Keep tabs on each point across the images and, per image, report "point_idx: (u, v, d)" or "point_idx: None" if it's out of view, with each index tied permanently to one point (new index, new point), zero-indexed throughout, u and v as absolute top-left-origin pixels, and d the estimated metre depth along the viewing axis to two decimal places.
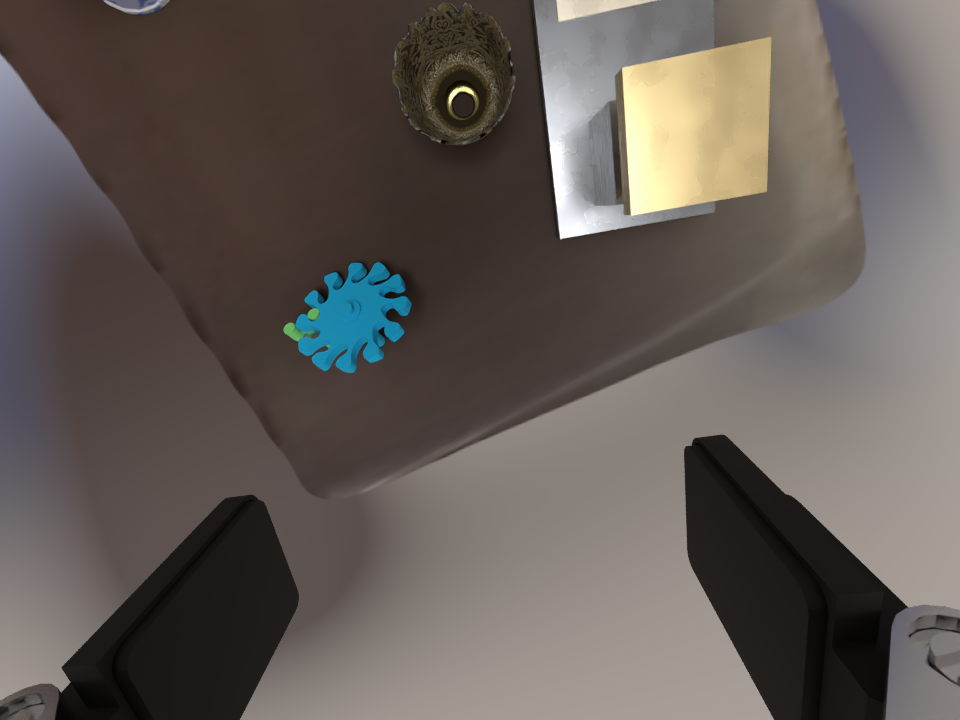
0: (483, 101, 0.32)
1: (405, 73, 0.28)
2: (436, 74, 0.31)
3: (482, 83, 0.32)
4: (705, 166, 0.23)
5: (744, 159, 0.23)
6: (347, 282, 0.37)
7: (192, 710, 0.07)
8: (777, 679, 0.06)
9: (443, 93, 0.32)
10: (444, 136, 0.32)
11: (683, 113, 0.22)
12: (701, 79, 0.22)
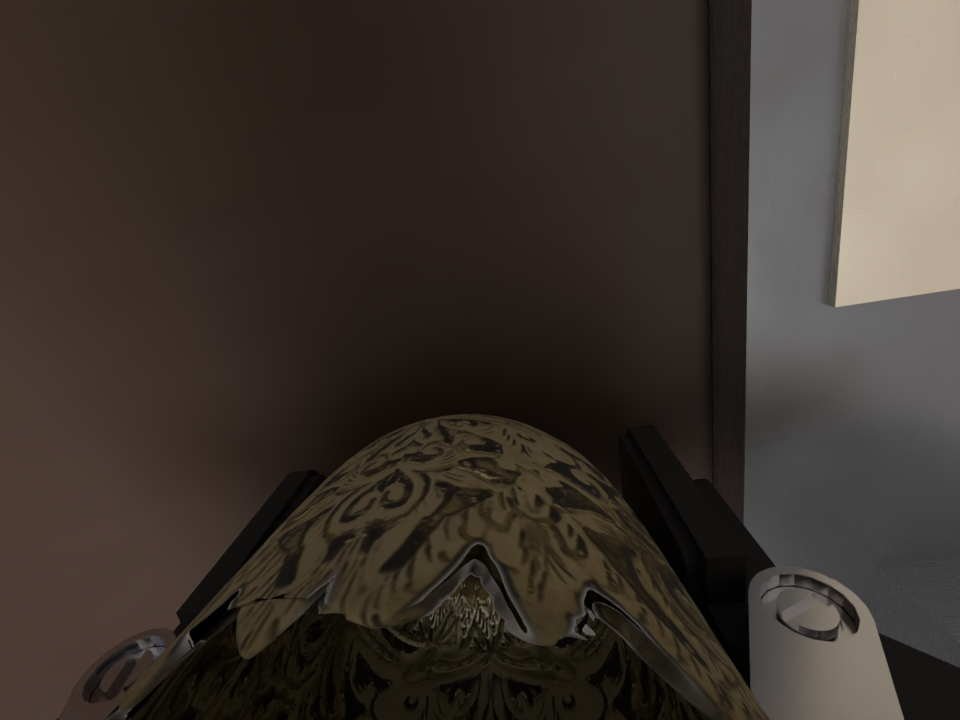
0: None
1: (223, 655, 0.06)
2: None
3: None
4: None
5: None
6: None
7: None
8: None
9: None
10: (419, 646, 0.10)
11: None
12: None
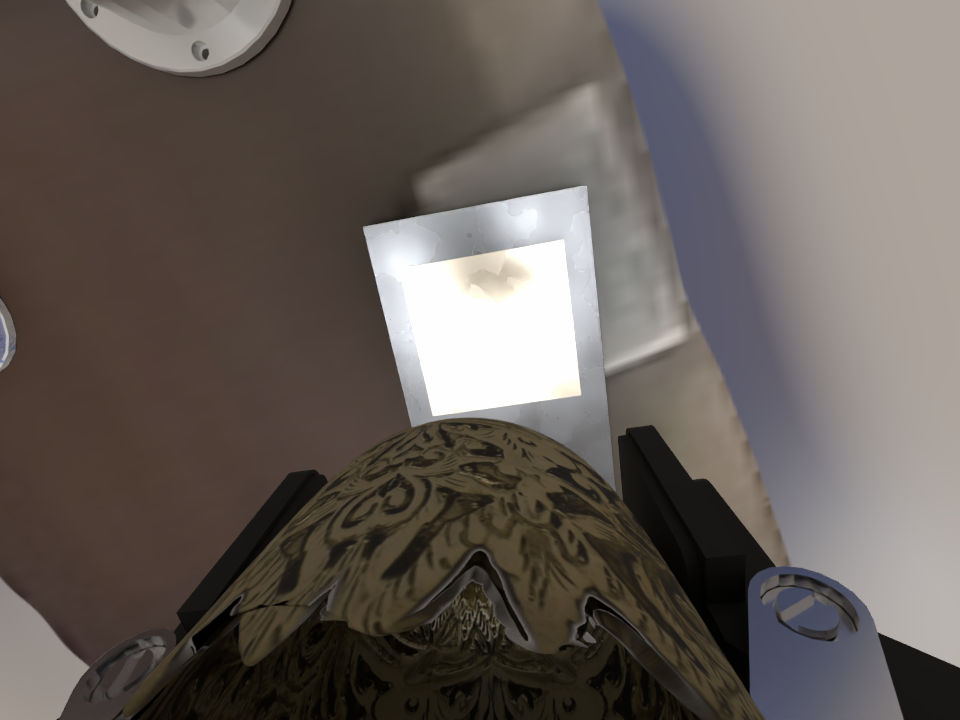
0: None
1: (225, 659, 0.06)
2: None
3: None
4: None
5: None
6: None
7: None
8: None
9: None
10: (420, 648, 0.10)
11: None
12: None
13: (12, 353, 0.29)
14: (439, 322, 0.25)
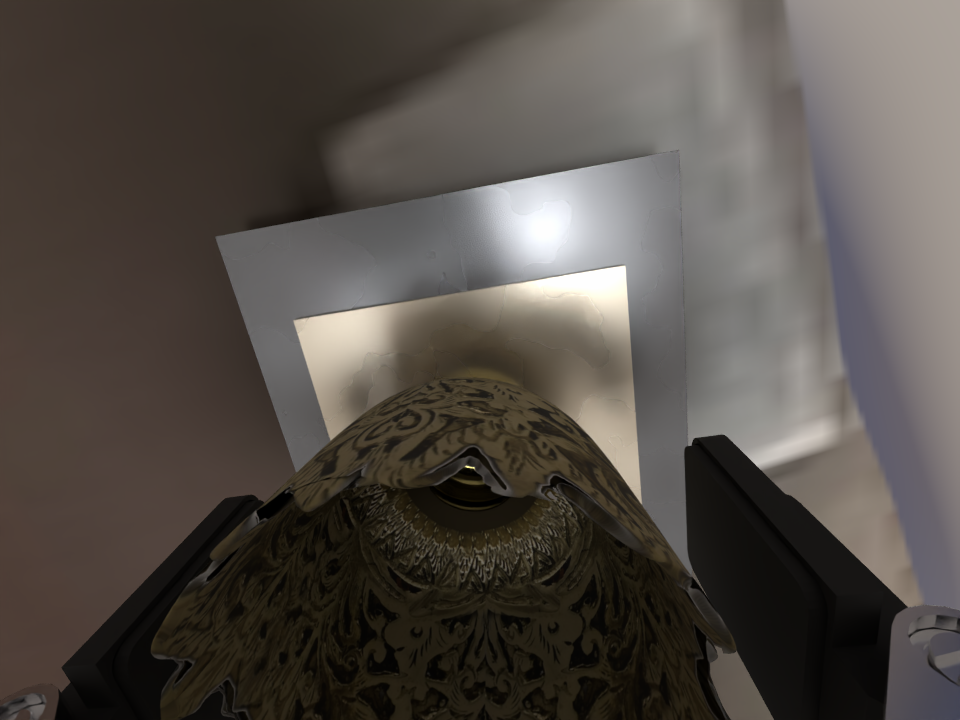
0: None
1: (264, 567, 0.07)
2: None
3: None
4: None
5: None
6: None
7: None
8: (777, 679, 0.06)
9: None
10: (423, 588, 0.11)
11: None
12: None
13: None
14: None
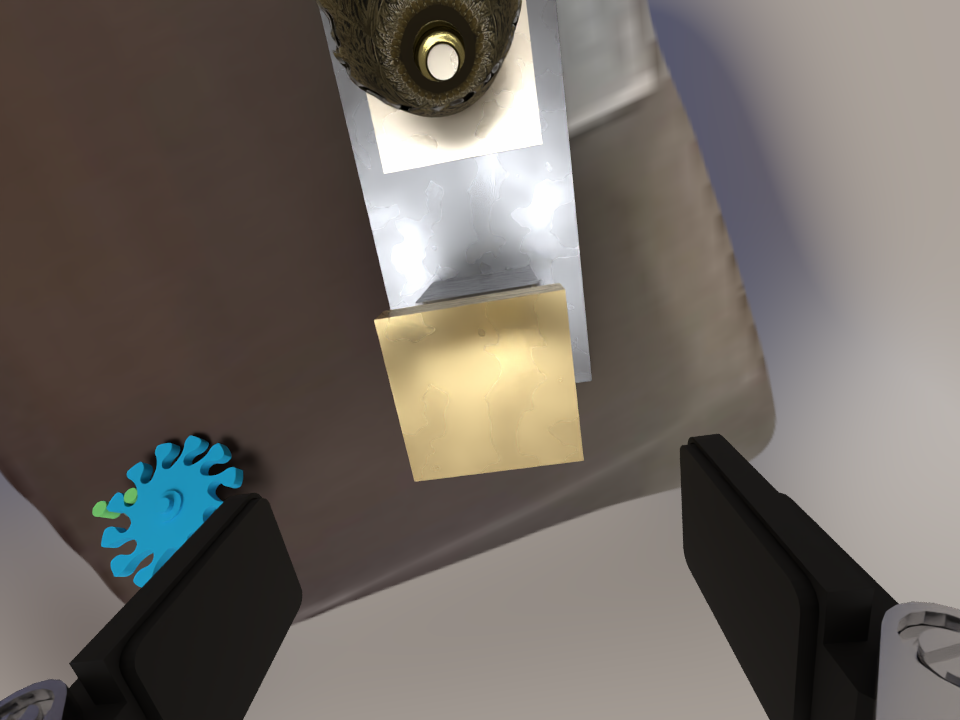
0: (471, 53, 0.21)
1: None
2: (399, 9, 0.21)
3: (469, 24, 0.21)
4: (500, 431, 0.18)
5: (550, 425, 0.17)
6: (178, 461, 0.32)
7: (198, 706, 0.07)
8: (770, 676, 0.06)
9: (410, 40, 0.22)
10: (412, 105, 0.21)
11: (462, 373, 0.17)
12: (480, 336, 0.16)
13: None
14: None
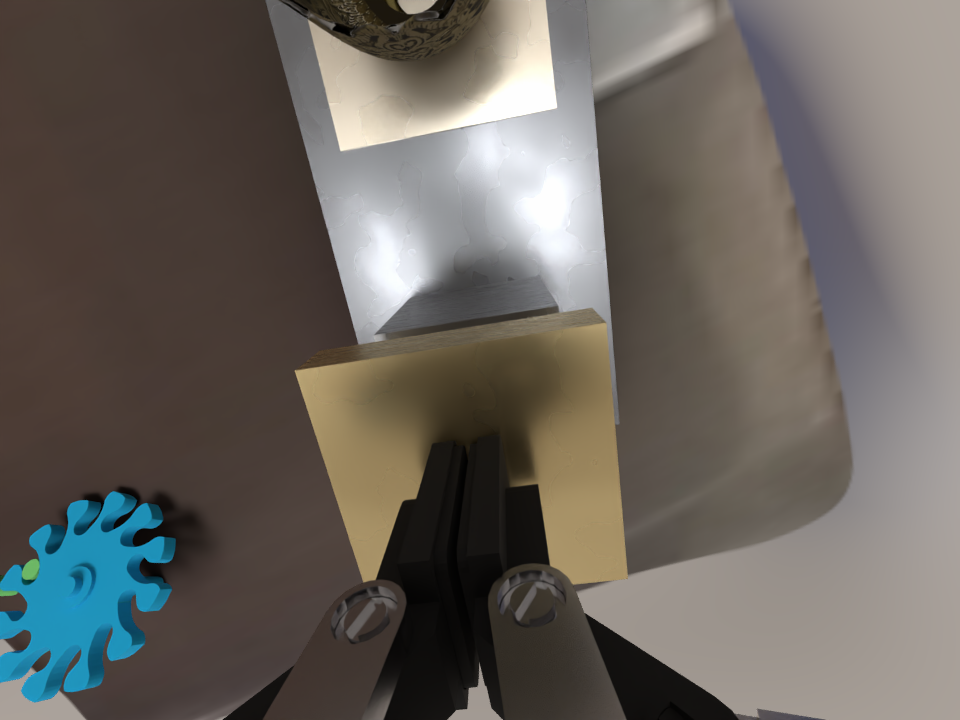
0: None
1: None
2: None
3: None
4: None
5: (577, 528, 0.11)
6: (94, 526, 0.25)
7: (467, 617, 0.08)
8: None
9: None
10: None
11: None
12: (467, 396, 0.10)
13: None
14: None
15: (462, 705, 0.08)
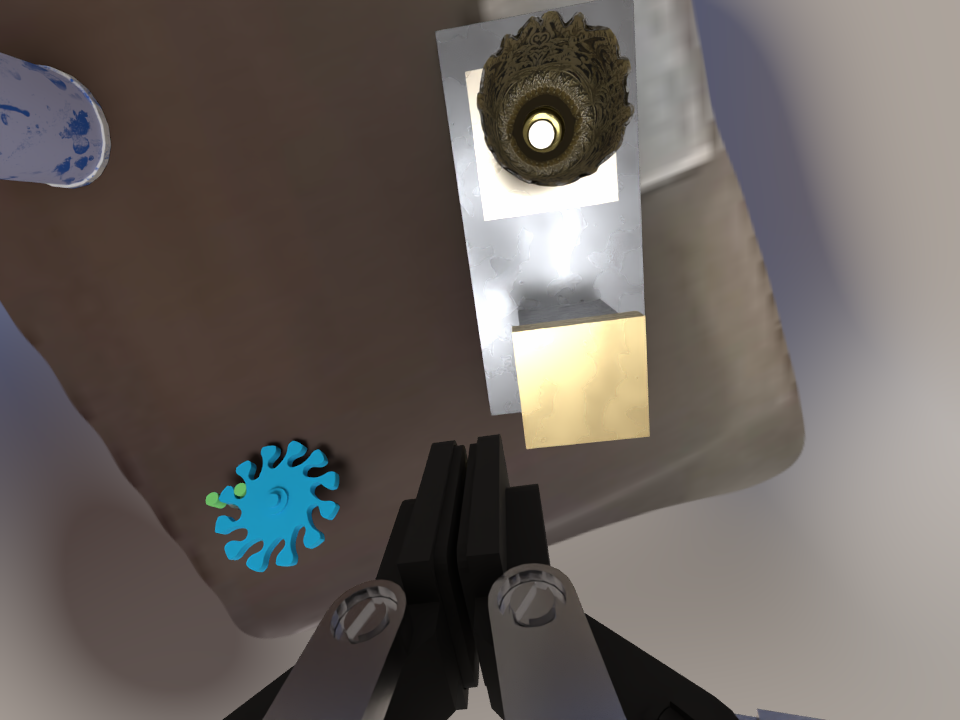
0: (570, 131, 0.27)
1: (488, 97, 0.23)
2: (516, 98, 0.26)
3: (571, 110, 0.26)
4: (592, 413, 0.25)
5: (627, 409, 0.25)
6: (283, 463, 0.37)
7: (467, 617, 0.08)
8: None
9: (521, 120, 0.27)
10: (523, 172, 0.26)
11: (569, 371, 0.24)
12: (584, 345, 0.24)
13: (105, 162, 0.32)
14: None
15: (462, 705, 0.08)
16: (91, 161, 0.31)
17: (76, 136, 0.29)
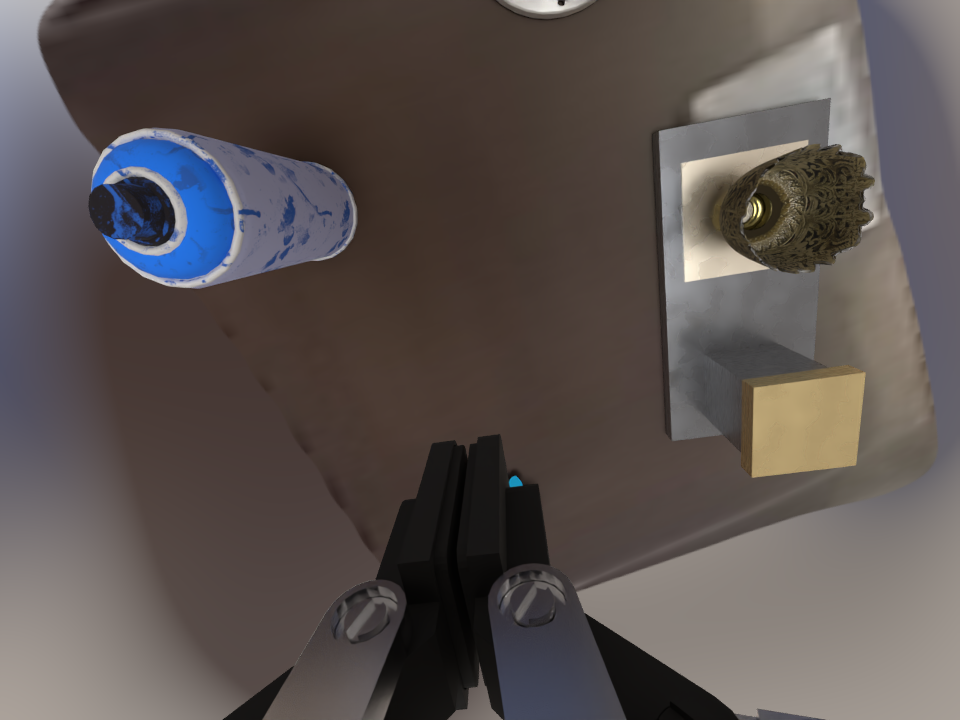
0: (777, 213, 0.32)
1: None
2: None
3: (780, 197, 0.32)
4: (810, 448, 0.31)
5: (840, 445, 0.31)
6: None
7: (467, 617, 0.08)
8: None
9: None
10: None
11: (796, 416, 0.30)
12: (812, 396, 0.30)
13: (351, 239, 0.37)
14: (704, 205, 0.34)
15: (462, 705, 0.08)
16: (345, 240, 0.37)
17: (345, 223, 0.35)
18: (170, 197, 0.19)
